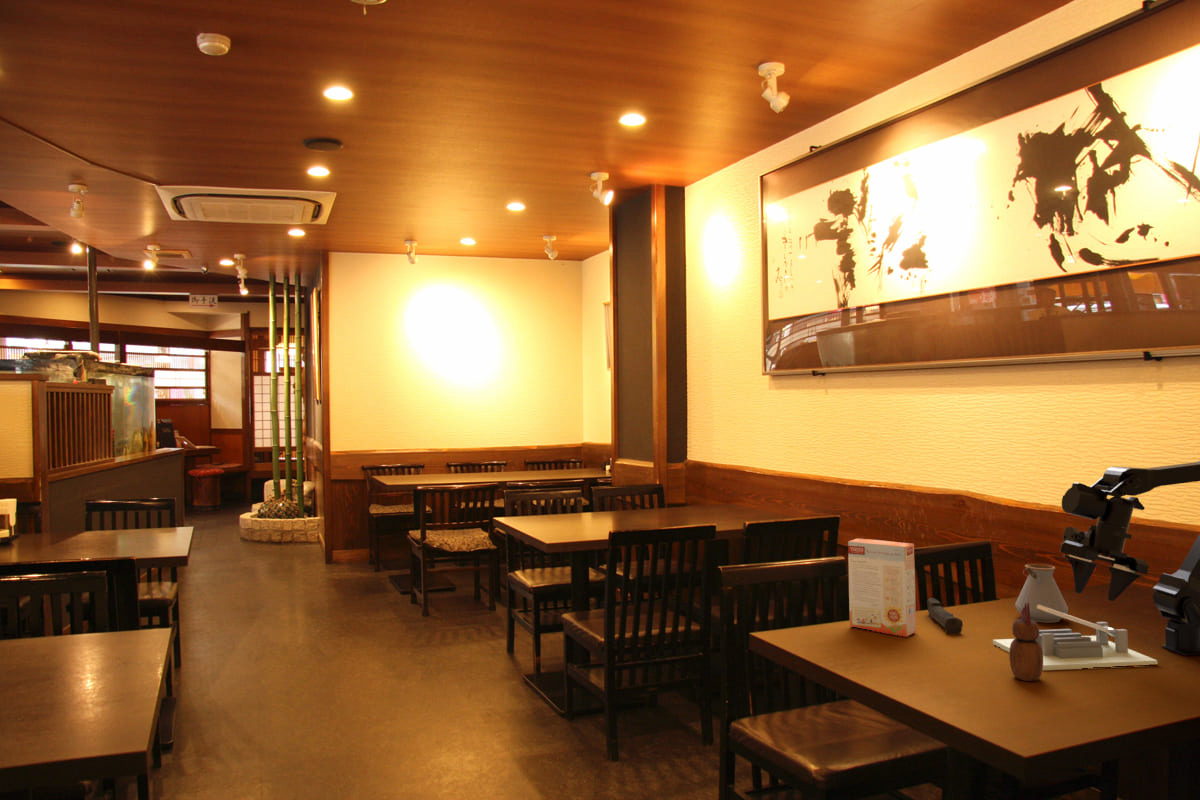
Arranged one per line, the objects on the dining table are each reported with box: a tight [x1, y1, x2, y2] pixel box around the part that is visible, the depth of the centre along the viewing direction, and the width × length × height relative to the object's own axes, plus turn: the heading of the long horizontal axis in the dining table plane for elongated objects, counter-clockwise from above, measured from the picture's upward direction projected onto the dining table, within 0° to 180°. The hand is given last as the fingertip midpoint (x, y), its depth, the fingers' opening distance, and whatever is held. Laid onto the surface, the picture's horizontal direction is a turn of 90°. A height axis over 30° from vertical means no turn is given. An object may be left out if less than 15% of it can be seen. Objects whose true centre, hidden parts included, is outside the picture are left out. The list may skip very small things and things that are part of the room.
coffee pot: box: [1014, 563, 1069, 624], centre depth 196 cm, size 21×12×15 cm, turn 142°
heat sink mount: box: [992, 621, 1158, 671], centre depth 172 cm, size 24×18×6 cm
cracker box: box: [847, 538, 917, 638], centre depth 192 cm, size 14×6×21 cm, turn 47°
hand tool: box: [926, 597, 963, 635], centre depth 198 cm, size 19×4×5 cm, turn 172°
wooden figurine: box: [1008, 603, 1043, 682], centre depth 158 cm, size 7×6×15 cm
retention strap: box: [1037, 605, 1116, 638], centre depth 172 cm, size 17×4×2 cm, turn 94°
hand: (1094, 596), depth 172 cm, fingers open, 9 cm apart
